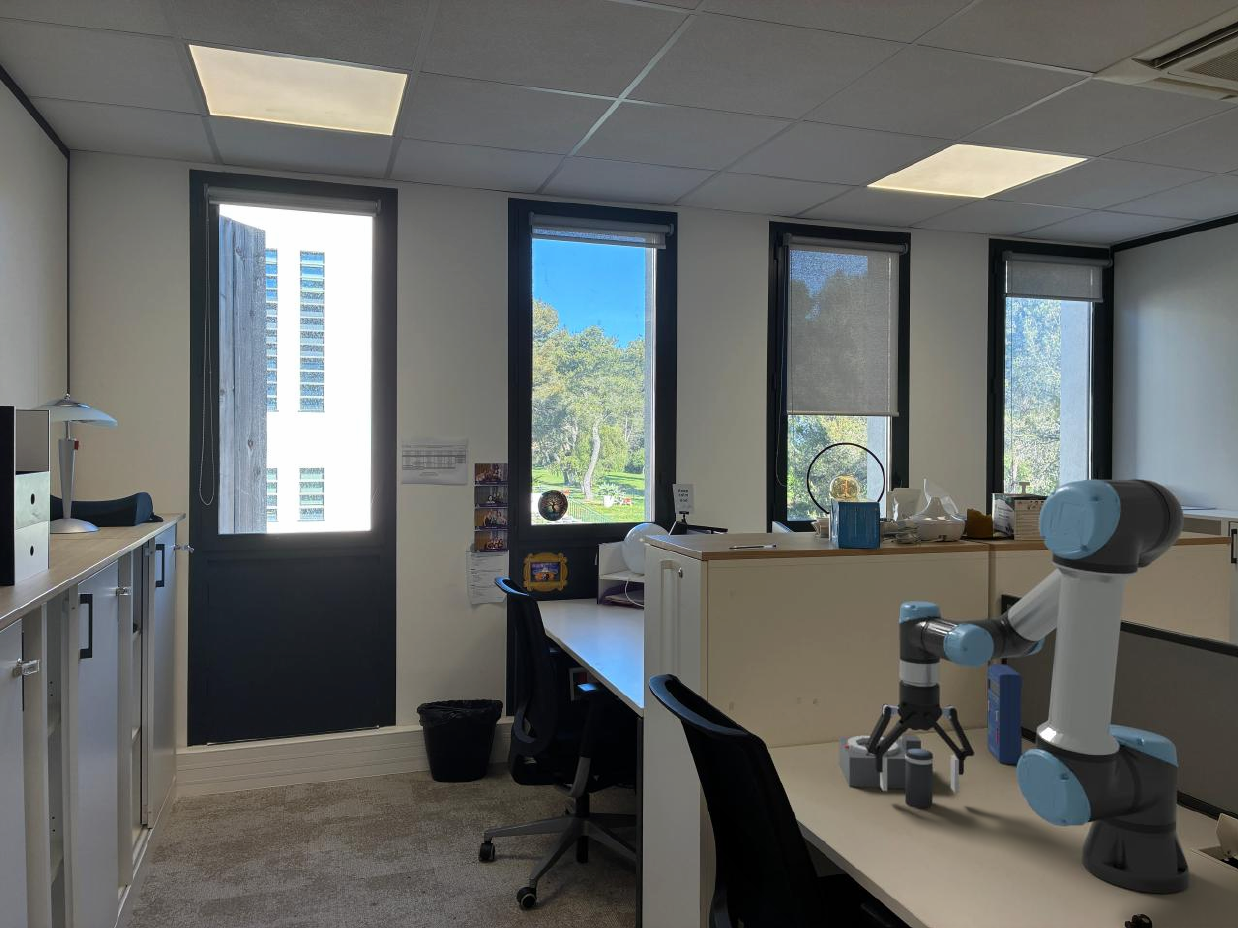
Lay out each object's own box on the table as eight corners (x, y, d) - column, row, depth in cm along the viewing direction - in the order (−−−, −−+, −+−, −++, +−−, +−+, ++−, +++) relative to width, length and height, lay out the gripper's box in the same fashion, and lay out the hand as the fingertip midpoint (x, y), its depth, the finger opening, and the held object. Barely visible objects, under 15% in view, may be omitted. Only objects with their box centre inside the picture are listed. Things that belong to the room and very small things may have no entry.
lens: (936, 809, 170) (936, 756, 170) (908, 808, 170) (908, 756, 170) (929, 798, 175) (929, 748, 175) (902, 797, 176) (902, 747, 175)
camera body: (929, 788, 180) (929, 747, 180) (849, 786, 182) (849, 745, 182) (913, 766, 193) (913, 728, 193) (839, 764, 195) (839, 726, 195)
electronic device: (985, 749, 204) (986, 663, 204) (1009, 750, 204) (1009, 664, 204) (998, 763, 195) (999, 673, 195) (1022, 764, 194) (1023, 674, 194)
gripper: (978, 678, 175) (978, 784, 175) (851, 675, 177) (850, 780, 178) (991, 687, 168) (991, 798, 168) (858, 684, 170) (857, 794, 170)
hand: (918, 789), depth 173 cm, fingers open, 13 cm apart
